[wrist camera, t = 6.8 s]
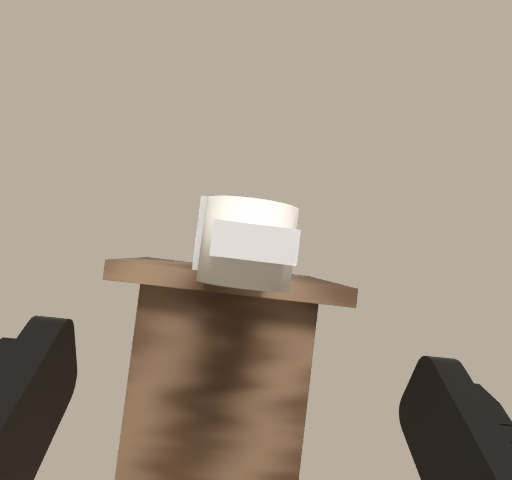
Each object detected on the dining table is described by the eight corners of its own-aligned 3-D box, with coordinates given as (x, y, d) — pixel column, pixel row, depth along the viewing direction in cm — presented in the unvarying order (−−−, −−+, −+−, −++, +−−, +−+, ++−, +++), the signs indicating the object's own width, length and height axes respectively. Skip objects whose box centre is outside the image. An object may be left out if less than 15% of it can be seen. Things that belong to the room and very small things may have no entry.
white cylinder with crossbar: (328, 302, 11) (343, 166, 12) (167, 284, 11) (185, 144, 11) (257, 270, 32) (263, 222, 32) (201, 263, 32) (207, 215, 32)
